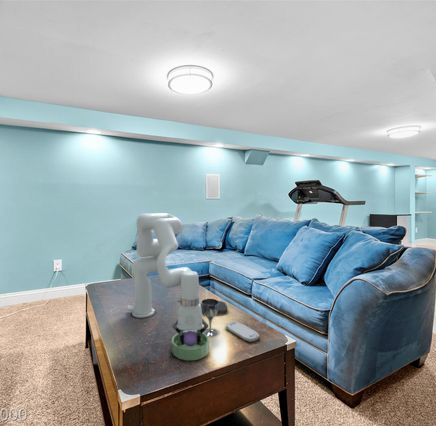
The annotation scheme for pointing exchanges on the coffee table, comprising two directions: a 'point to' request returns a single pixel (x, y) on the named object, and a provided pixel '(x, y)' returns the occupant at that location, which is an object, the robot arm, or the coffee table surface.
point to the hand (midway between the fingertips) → (190, 342)
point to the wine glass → (210, 314)
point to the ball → (190, 338)
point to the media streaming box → (220, 308)
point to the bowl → (190, 348)
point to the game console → (242, 331)
